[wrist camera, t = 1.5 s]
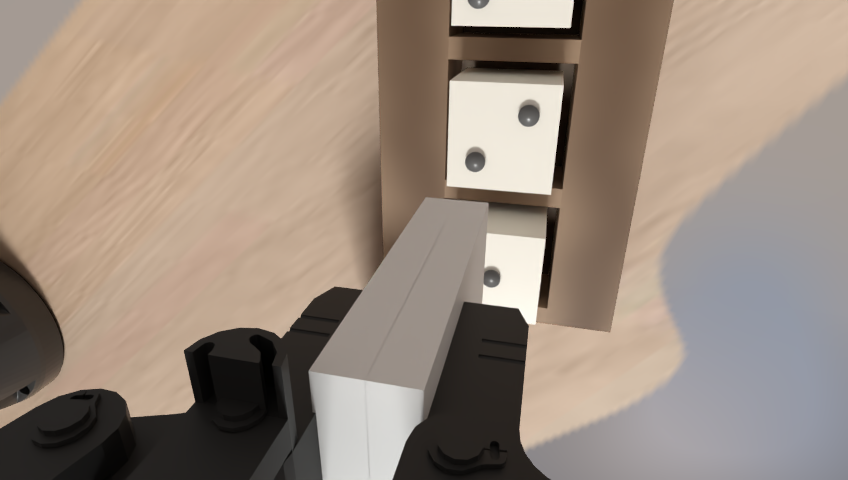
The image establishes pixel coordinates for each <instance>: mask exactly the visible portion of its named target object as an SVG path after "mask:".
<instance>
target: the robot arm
mask: <svg viewBox="0 0 848 480" xmlns="http://www.w3.org/2000/svg"><path fill="white" fill-rule="evenodd" d="M488 206H489V203H485V202H474V201H463V200H451V199H440V198H429V197H426V198H425V199H424V201H423V202H422V204H421V205H420V207H419V208H418V210H417V211H416V212H415V214H414V215H413V217H412V218H411V220H410V221H409V223H408V224H407V226H406V227H405V229H404V230H403V232H402V233H401V235H400V236H399V238H398V239H397V241H396V242H395V244H394V245H393V247H392V248H391V250H390V251H389V252H388V254H387V255H386V257H385V258H384V260H383V261H382V263H381V264H380V266H379V267H378V269H377V270H376V272H375V273H374V275H373V276H372V278H371V279H370V281H369V282H368V284H367V285H366V287H365V288H364V289H363V290H357V289H349V288H342V287H334V288H332V289H330V290H328V291H327V292H325V293H323V294H321V295H320V296H318V297H316V298H315V299H313V301H312V302H311V303H310V304H309V306H308V307H307V308H306V309H305V310H304V312H303V313H302V314H301V318H298V319H297V320H296V321H295V323H294V324H293V325H292V326H291V328H290V331H287V332H286V334H285V335H284V336H283V337H282V338H279V337H278V336H277V335H276V334H275V333H272V332H269V331H266V330H263V329H259V328H236V329H231V330H226V331H220V332H217V333H215V334H212V335H210V336H207V337H205V338H202V339H200V340H198V341H197V342H196V343H194V344H193V345H191V346H190V347H188V348H187V349H185V350H184V354H185V358H186V362H187V367H188V371H189V376H190V380H191V385H192V389H193V393H194V398H195V403H194V404H193V405H192V406H191V408H190V409H189V410H188V411H187V412H186V413H181V414H170V415H157V416H144V417H130V414H129V411H128V407H127V404H126V401H125V400H124V399H123V398H122V397H121V396H120V395H119V394H118V393H117V392H113V391H109V390H104V389H90V390H80V391H76V392H73V393H69V394H65V395H62V396H58V397H56V398H54V399H52V400H50V401H48V402H46V403H44V404H42V405H40V406H38V407H36V408H34V409H32V410H31V411H29V412H27V413H26V414H24V415H22V416H21V417H19V418H17V419H16V420H14V421H12V422H11V423H9V424H7V425H6V426H4V427H2V428H1V429H0V480H550V479H549V478H547V477H546V476H545V475H544V474H542V472H540V471H539V470H538V469H537V468H536V467H535V466H534V465H533V464H532V462H531V461H530V459H529V458H528V457H527V455H526V454H525V452H524V449H523V447H522V444H521V442H520V432H519V426H520V415H521V404H522V393H523V383H524V372H525V361H526V350H527V339H528V328H529V326H528V324H527V322H526V321H525V319H524V317H523V315H522V314H521V312H520V310H519V309H518V308H510V307H503V306H495V305H487V304H482V298H483V283H484V268H485V252H486V237H487V222H488ZM62 364H63V344H62V340H61V336H60V333H59V330H58V327H57V325H56V323H55V321H54V319H53V317H52V315H51V313H50V312H49V310H48V308H47V307H46V305H45V304H44V302H43V301H42V300H41V298H40V297H39V296H38V295H37V293H36V292H35V291H34V290H33V289H32V288H31V287H30V286H29V284H28V283H27V282H26V281H25V280H23V279H22V278H21V277H20V276H19V275H18V274H17V273H16V272H14V271H13V270H12V269H11V268H9V267H8V266H6V265H5V264H4V263H2V262H1V261H0V409H3V408H6V407H8V406H11V405H13V404H16V403H18V402H21V401H23V400H25V399H27V398H29V397H31V396H33V395H34V394H35V393H37V392H38V391H39V390H41V389H42V388H44V387H45V386H46V385H48V384H49V383H50V382H52V381H53V380H54V379H55V378H56V377H57V375H58V374H59V372H60V370H61V367H62Z"/></svg>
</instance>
